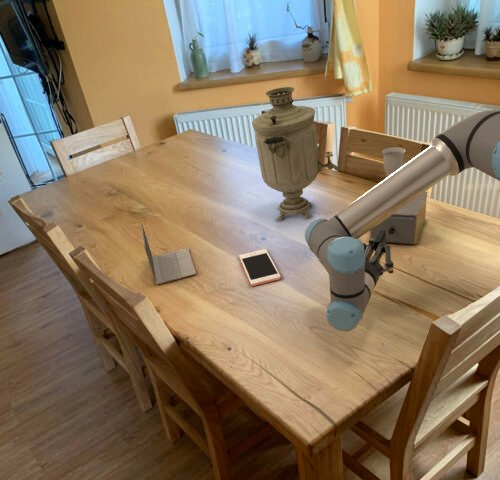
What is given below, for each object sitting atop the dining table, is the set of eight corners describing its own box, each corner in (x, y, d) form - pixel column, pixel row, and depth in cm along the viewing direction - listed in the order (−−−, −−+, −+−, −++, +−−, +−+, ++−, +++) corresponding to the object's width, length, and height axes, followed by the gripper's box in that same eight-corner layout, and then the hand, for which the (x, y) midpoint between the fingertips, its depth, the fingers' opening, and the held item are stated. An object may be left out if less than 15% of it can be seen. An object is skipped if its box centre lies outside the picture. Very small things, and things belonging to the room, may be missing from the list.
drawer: (412, 245, 144) (413, 221, 139) (369, 242, 149) (369, 218, 144) (421, 221, 154) (423, 197, 150) (381, 218, 159) (382, 195, 155)
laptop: (196, 275, 151) (186, 237, 143) (156, 285, 149) (144, 247, 141) (188, 249, 165) (179, 213, 157) (151, 258, 164) (140, 222, 156)
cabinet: (415, 244, 146) (417, 214, 140) (369, 241, 151) (369, 212, 145) (425, 220, 156) (427, 191, 150) (381, 218, 162) (382, 190, 156)
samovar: (318, 237, 158) (309, 104, 133) (248, 229, 170) (227, 106, 145) (352, 198, 177) (349, 75, 152) (286, 193, 189) (274, 78, 164)
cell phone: (266, 251, 156) (265, 248, 155) (281, 279, 142) (281, 276, 141) (239, 257, 155) (238, 255, 154) (251, 286, 141) (251, 284, 140)
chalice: (407, 202, 168) (409, 148, 157) (396, 210, 165) (398, 156, 154) (388, 198, 172) (389, 146, 161) (377, 206, 169) (377, 153, 158)
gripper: (333, 292, 122) (358, 245, 138) (387, 298, 117) (406, 249, 133) (332, 266, 118) (358, 220, 134) (387, 271, 112) (408, 223, 128)
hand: (382, 234), depth 133 cm, fingers closed
